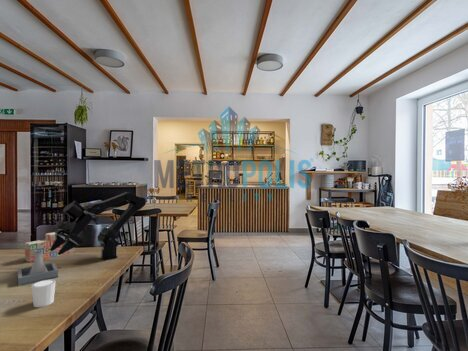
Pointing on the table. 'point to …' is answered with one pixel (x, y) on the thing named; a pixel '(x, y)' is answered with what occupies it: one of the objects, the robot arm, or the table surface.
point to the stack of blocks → (44, 248)
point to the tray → (26, 278)
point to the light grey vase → (38, 264)
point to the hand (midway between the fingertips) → (54, 252)
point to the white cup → (43, 292)
